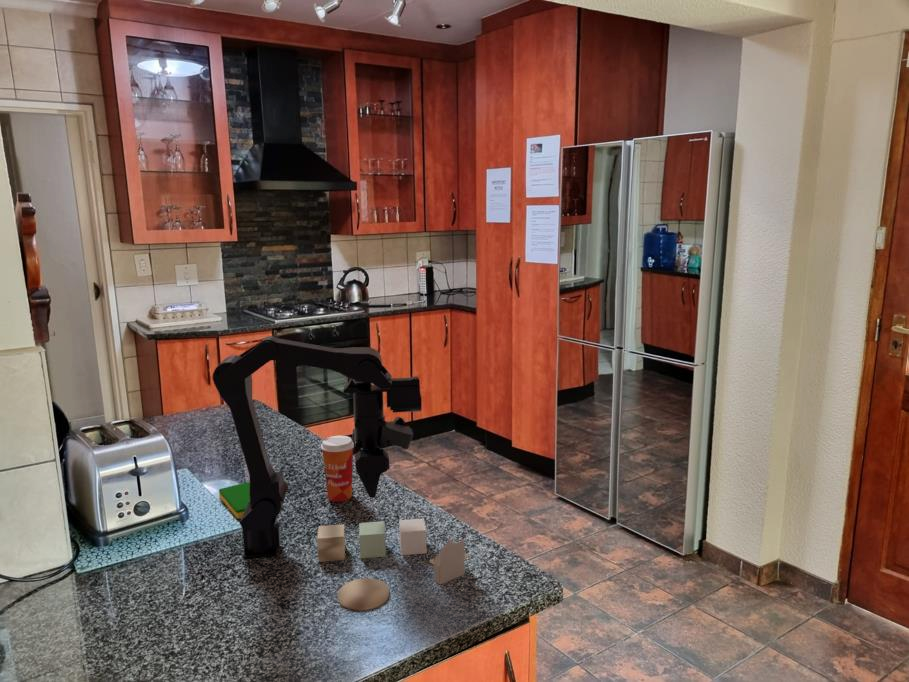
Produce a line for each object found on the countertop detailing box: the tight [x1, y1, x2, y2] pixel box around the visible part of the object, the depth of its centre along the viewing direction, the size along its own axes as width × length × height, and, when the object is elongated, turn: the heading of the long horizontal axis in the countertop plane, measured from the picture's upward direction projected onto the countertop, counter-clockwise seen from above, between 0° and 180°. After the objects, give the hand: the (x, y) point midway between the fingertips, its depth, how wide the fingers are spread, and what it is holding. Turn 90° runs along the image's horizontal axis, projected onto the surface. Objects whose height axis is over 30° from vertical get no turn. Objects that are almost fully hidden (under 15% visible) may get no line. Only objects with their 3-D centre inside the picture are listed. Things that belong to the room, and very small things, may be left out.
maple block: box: [316, 523, 346, 563], centre depth 129 cm, size 5×5×5 cm
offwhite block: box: [398, 517, 428, 556], centre depth 131 cm, size 5×5×5 cm
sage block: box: [358, 520, 387, 560], centre depth 130 cm, size 5×5×5 cm
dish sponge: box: [218, 481, 250, 519], centre depth 151 cm, size 7×14×2 cm, turn 35°
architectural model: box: [429, 538, 470, 585], centre depth 121 cm, size 3×7×7 cm, turn 127°
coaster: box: [337, 577, 390, 612], centre depth 115 cm, size 9×9×1 cm
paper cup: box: [320, 435, 354, 503], centre depth 153 cm, size 8×8×14 cm
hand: (371, 487), depth 131 cm, fingers open, 9 cm apart
